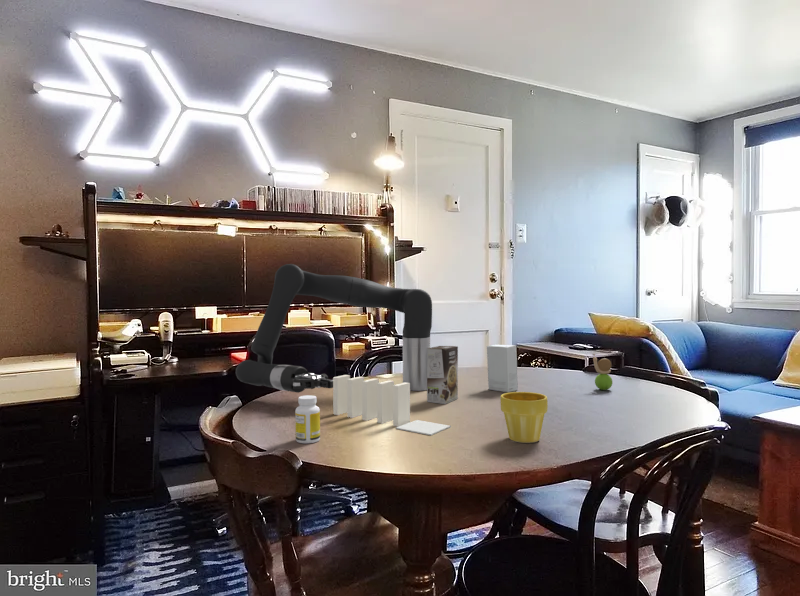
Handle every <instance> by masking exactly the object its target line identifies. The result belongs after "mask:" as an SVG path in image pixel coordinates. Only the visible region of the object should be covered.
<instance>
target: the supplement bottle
mask: <svg viewBox="0 0 800 596" xmlns="http://www.w3.org/2000/svg"><path fill="white" fill-rule="evenodd" d="M297 401H298V402H297V403H298V406H297V407H296V408H295V411H294V412H295V413H294V414H295V441H296V442H297V443H299V444H312V443H313V444H314V443H318V442H319V441H320V440H321V415H320V414H321V409H320V407H319V406H317V405H316V404H317V396H316V395H300V396H298V399H297Z"/></svg>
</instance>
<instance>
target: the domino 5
mask: <svg viewBox="0 0 800 596" xmlns="http://www.w3.org/2000/svg"><path fill="white" fill-rule="evenodd" d="M410 422H411V390H410V383H406V382H404V383H403V382H401V383H397V384H394V385H393V420H392V426H394V427H399V426H402V425H404V424H407V423H410Z"/></svg>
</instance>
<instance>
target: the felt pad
mask: <svg viewBox="0 0 800 596" xmlns="http://www.w3.org/2000/svg"><path fill="white" fill-rule="evenodd" d="M451 427H452V426H451V425H447V424H442V423H438V422H437V423H436V422H431V421H425V420H420V419H416V420H413V421H410V423H407V424H404V425H402V426H399V427H397V426H395V429H396V430H399V431H400V430H401V431H406V432H411V433H415V434H421V435H428V436H433V435H435V434H438V433H440V432H442V431H444V430H448V429H450V428H451Z"/></svg>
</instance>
